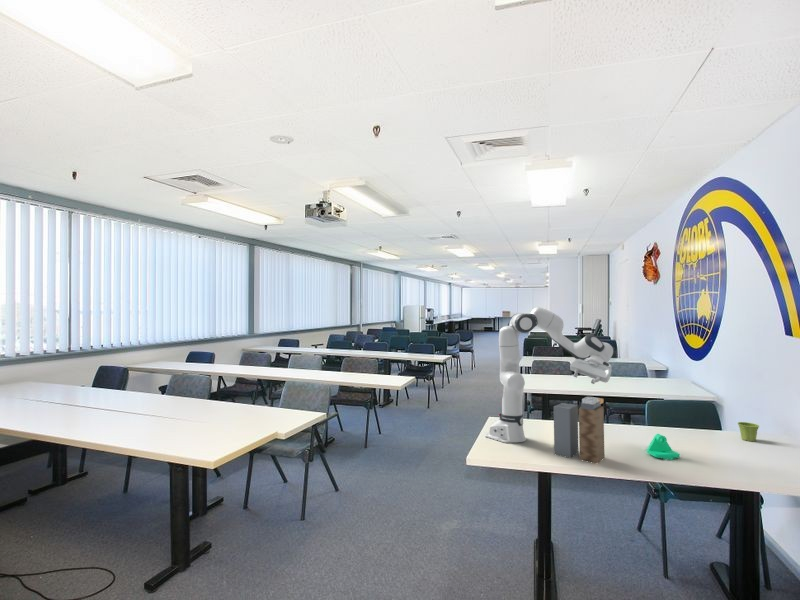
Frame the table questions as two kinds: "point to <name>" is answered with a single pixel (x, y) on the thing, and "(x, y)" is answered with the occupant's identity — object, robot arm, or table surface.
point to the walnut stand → (591, 434)
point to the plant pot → (748, 431)
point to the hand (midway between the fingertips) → (583, 379)
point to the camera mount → (661, 448)
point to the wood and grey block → (591, 403)
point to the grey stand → (566, 429)
